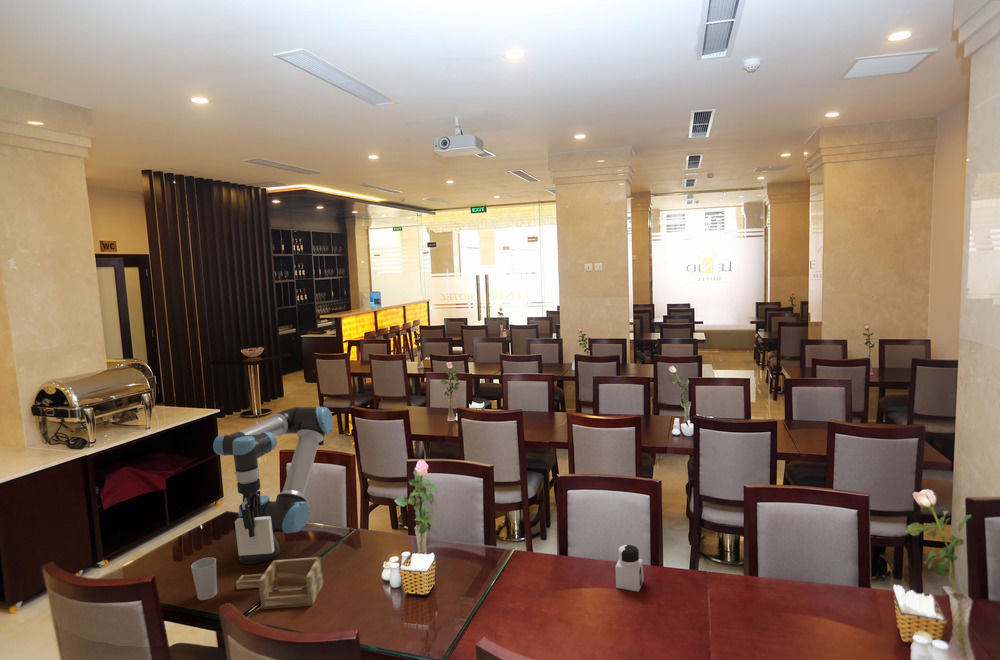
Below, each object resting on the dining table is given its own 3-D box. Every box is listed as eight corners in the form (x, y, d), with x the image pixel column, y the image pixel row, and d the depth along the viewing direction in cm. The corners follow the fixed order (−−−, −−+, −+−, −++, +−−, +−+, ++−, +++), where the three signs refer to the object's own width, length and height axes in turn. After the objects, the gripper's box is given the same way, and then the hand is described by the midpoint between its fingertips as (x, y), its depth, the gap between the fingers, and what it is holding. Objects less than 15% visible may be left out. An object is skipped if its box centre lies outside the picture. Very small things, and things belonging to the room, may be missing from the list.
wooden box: (275, 586, 211) (273, 560, 210) (323, 583, 212) (320, 556, 211) (261, 609, 197) (258, 581, 196) (312, 605, 198) (309, 577, 197)
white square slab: (241, 552, 214) (237, 518, 213) (274, 549, 215) (271, 515, 213) (238, 555, 212) (234, 521, 210) (272, 553, 212) (268, 519, 211)
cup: (209, 602, 204) (205, 569, 203) (189, 600, 205) (185, 568, 204) (224, 589, 212) (221, 557, 210) (205, 588, 213) (201, 557, 212)
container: (643, 580, 200) (642, 544, 199) (639, 592, 193) (637, 554, 192) (621, 576, 204) (619, 540, 202) (615, 588, 197) (614, 551, 195)
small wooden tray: (242, 581, 216) (241, 575, 216) (281, 578, 217) (281, 572, 216) (236, 589, 211) (235, 582, 211) (277, 586, 212) (276, 579, 211)
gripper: (246, 473, 217) (253, 533, 220) (228, 489, 202) (236, 553, 205) (266, 471, 218) (273, 531, 220) (250, 487, 202) (258, 551, 205)
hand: (255, 542), depth 213 cm, fingers closed on white square slab, 2 cm apart
